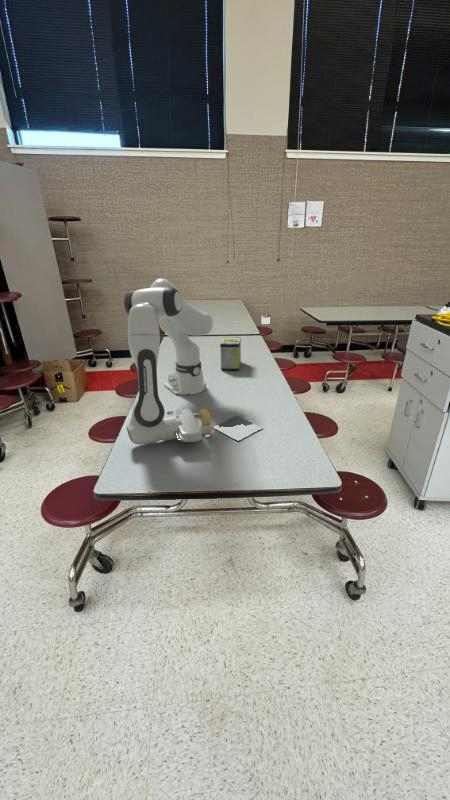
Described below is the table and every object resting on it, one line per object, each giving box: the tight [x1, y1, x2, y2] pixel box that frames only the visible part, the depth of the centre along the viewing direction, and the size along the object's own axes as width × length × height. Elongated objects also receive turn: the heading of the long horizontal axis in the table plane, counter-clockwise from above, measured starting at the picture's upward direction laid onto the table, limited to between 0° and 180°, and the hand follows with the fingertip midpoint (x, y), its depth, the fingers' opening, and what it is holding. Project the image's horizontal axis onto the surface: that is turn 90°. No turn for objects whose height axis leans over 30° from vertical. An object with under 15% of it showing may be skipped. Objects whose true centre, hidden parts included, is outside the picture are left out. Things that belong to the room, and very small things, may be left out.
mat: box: [216, 414, 254, 427], centre depth 143 cm, size 15×14×1 cm
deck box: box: [200, 408, 212, 437], centre depth 138 cm, size 2×5×10 cm, turn 18°
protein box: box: [219, 336, 242, 372], centre depth 205 cm, size 10×16×16 cm
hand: (207, 421), depth 138 cm, fingers open, 8 cm apart
